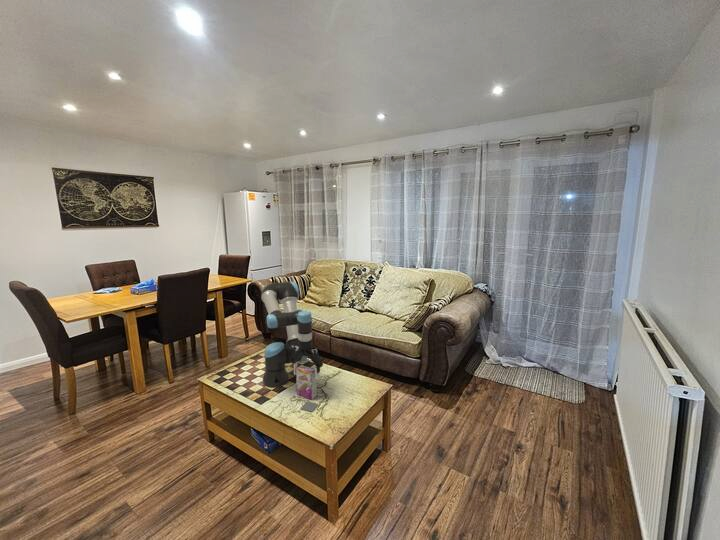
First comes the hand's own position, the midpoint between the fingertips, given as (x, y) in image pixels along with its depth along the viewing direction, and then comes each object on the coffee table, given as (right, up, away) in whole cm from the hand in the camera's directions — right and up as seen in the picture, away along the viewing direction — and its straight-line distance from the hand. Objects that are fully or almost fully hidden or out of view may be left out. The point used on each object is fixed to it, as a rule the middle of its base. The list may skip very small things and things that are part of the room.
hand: (306, 375), depth 170 cm
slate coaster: (+3, -14, -8) cm, 16 cm away
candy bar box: (0, -12, +2) cm, 12 cm away
